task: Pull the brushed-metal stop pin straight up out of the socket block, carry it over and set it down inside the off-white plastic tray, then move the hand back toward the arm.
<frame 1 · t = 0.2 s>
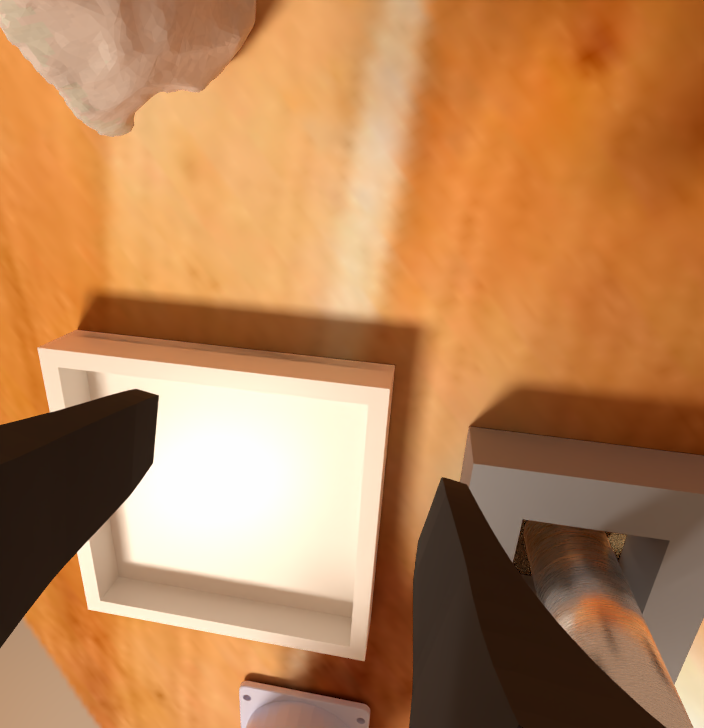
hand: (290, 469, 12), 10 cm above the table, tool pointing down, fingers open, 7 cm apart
socket block: (562, 533, 23), on the table
stop pin: (592, 623, 19), in the socket block
arrowhead: (219, 51, 18), on the table
tray: (234, 485, 25), on the table
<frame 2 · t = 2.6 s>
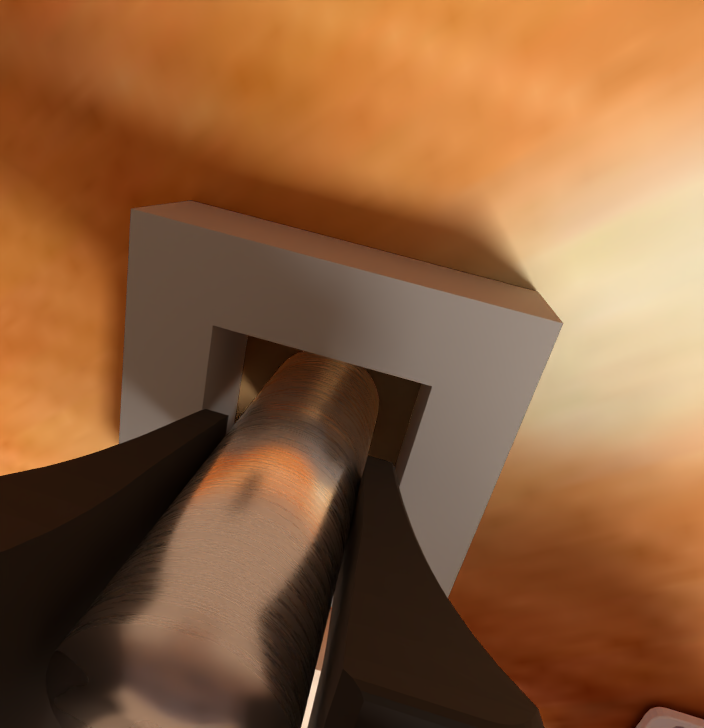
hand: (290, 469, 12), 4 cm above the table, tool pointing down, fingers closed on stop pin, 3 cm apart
socket block: (324, 400, 16), on the table
stop pin: (277, 495, 11), in the socket block, touching gripper
tray: (250, 714, 22), on the table
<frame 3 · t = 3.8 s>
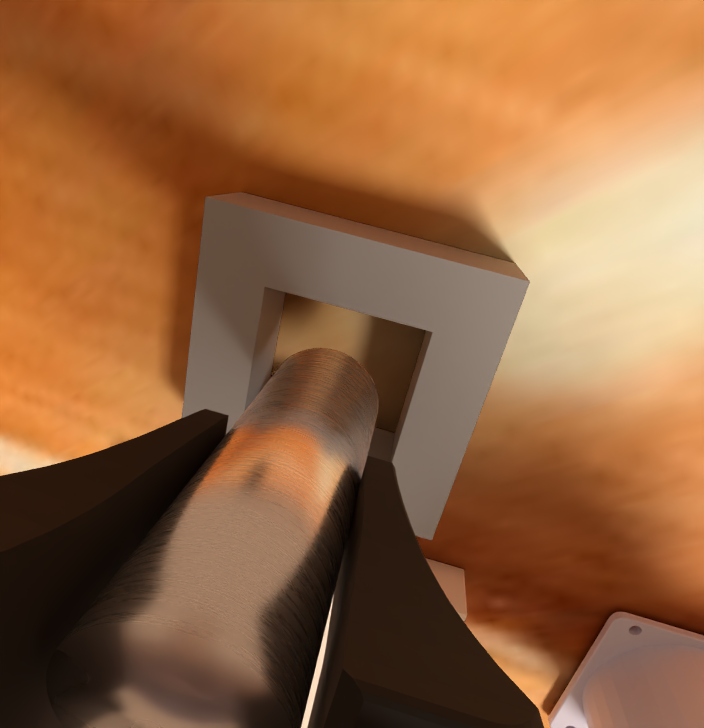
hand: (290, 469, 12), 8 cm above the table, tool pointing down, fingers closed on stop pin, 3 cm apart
socket block: (344, 354, 20), on the table
stop pin: (277, 495, 11), point 9 cm above the table, touching gripper
tray: (277, 633, 26), on the table
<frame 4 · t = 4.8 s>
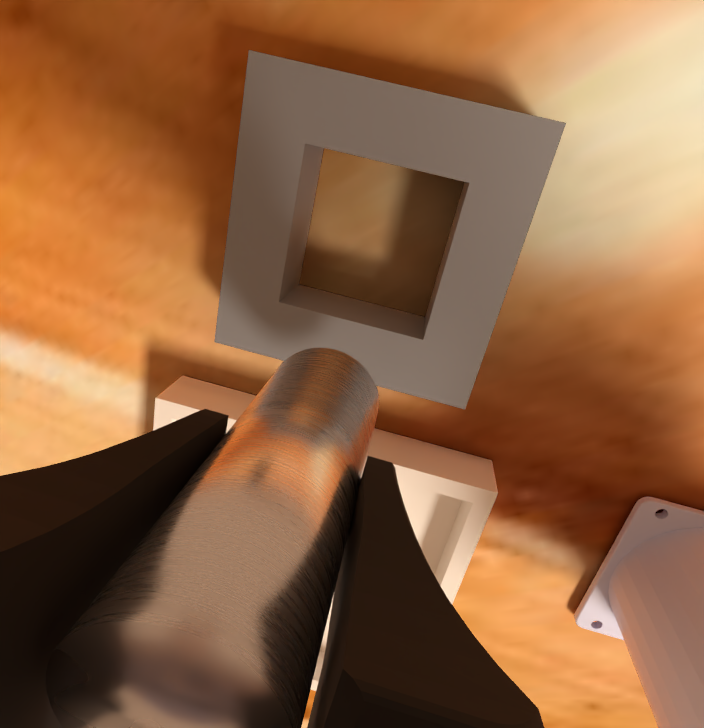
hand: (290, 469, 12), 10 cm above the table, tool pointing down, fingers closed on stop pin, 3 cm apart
socket block: (376, 235, 20), on the table
stop pin: (277, 494, 11), point 11 cm above the table, touching gripper
tray: (305, 538, 26), on the table
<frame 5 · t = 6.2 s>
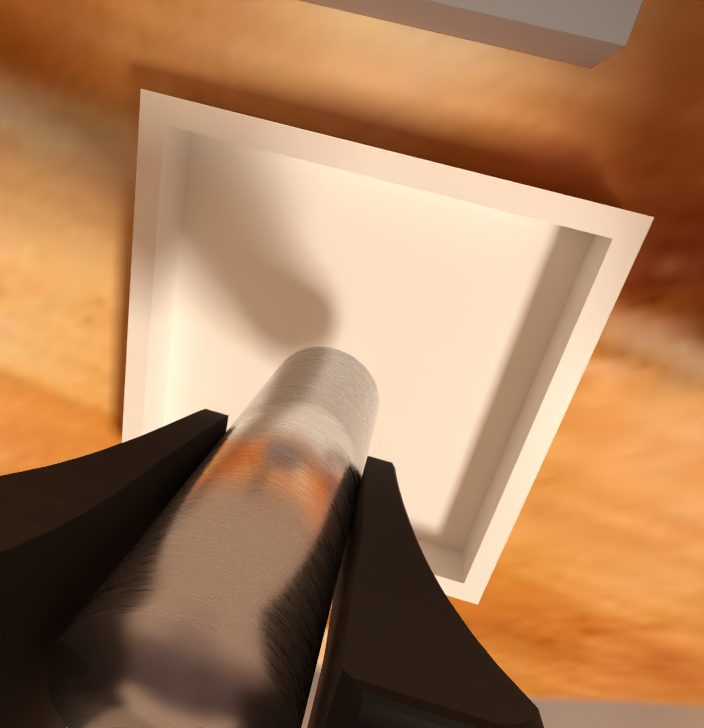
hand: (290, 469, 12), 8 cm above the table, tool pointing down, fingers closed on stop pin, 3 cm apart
stop pin: (278, 492, 11), point 9 cm above the table, touching gripper
tray: (346, 358, 19), on the table
when the fingers open (5 cm above the table, at t = 7.4 s): stop pin stays where it is, resting on tray.
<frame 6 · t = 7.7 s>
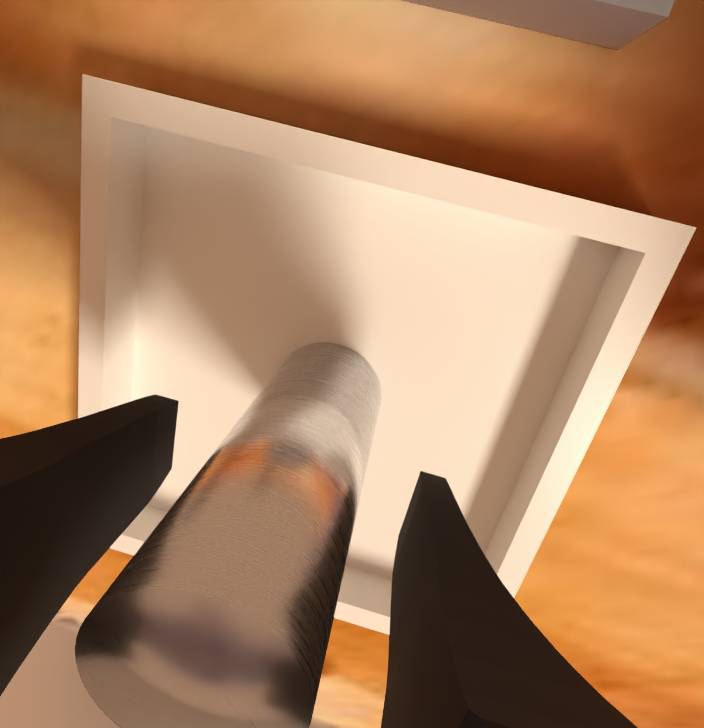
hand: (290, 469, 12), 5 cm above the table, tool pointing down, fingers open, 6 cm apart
stop pin: (286, 481, 12), in the tray, point 6 cm above the table
tray: (332, 384, 17), on the table
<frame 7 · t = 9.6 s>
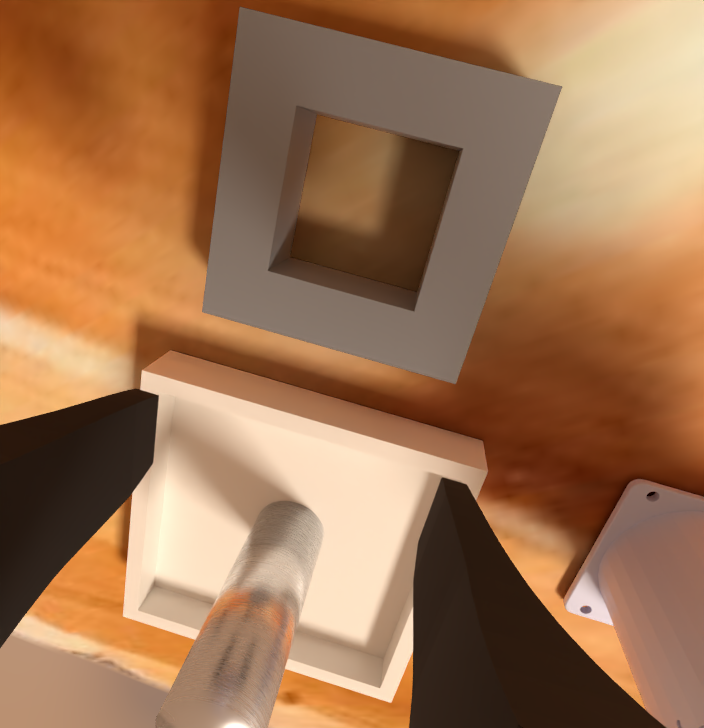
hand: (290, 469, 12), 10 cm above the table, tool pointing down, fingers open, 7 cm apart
socket block: (369, 207, 20), on the table
stop pin: (257, 610, 21), in the tray, point 6 cm above the table
tray: (293, 519, 26), on the table
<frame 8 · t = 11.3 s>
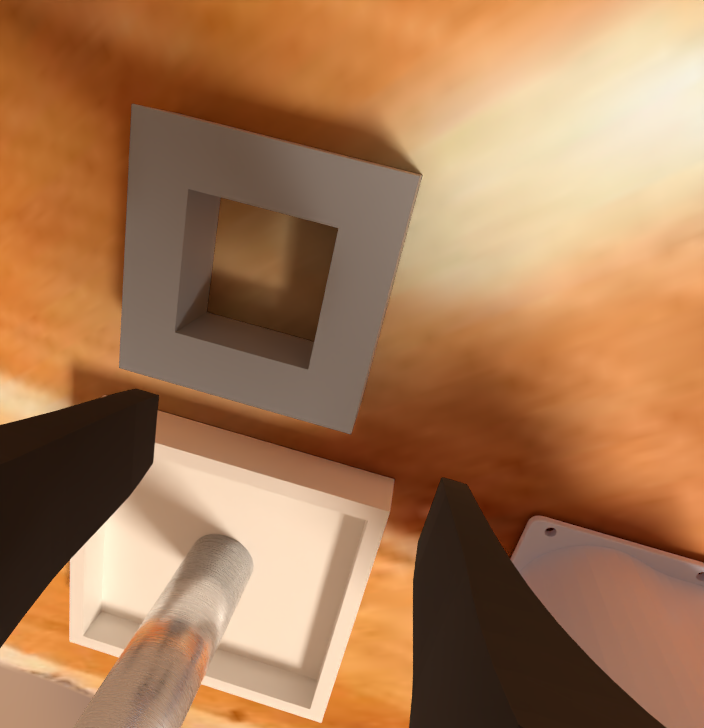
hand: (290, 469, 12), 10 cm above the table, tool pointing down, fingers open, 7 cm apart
socket block: (275, 268, 21), on the table
stop pin: (176, 642, 22), in the tray, point 6 cm above the table
tray: (227, 550, 28), on the table
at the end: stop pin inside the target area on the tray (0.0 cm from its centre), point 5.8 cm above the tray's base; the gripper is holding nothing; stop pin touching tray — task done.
